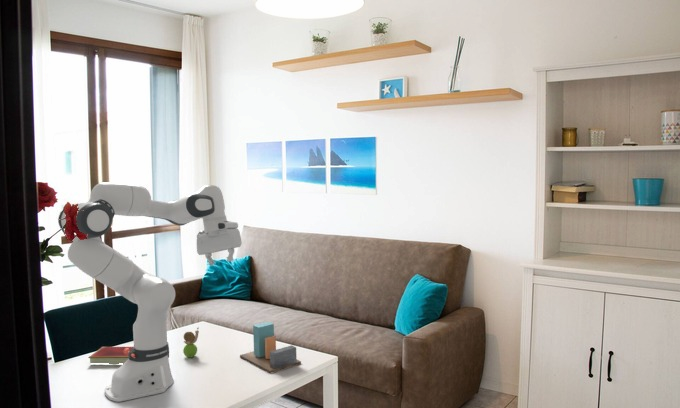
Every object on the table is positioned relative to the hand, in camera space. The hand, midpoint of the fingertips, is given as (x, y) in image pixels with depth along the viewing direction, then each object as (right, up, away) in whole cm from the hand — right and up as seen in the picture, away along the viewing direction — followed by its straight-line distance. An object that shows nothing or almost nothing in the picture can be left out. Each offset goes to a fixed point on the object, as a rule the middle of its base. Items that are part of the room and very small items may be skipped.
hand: (221, 263), depth 202 cm
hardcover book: (-41, -40, +9) cm, 59 cm away
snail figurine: (-14, -39, +11) cm, 43 cm away
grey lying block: (+24, -39, -2) cm, 46 cm away
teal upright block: (+16, -37, +8) cm, 41 cm away
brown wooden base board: (+18, -39, +6) cm, 43 cm away
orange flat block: (+20, -37, +7) cm, 43 cm away
